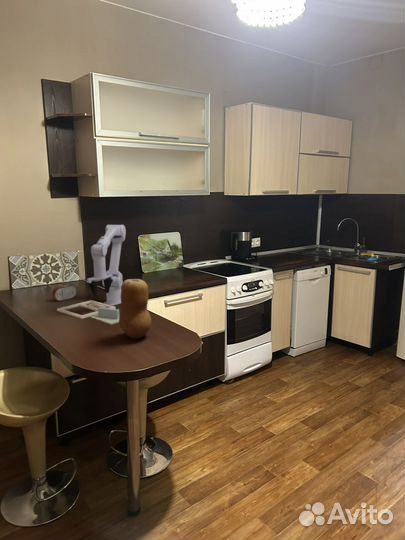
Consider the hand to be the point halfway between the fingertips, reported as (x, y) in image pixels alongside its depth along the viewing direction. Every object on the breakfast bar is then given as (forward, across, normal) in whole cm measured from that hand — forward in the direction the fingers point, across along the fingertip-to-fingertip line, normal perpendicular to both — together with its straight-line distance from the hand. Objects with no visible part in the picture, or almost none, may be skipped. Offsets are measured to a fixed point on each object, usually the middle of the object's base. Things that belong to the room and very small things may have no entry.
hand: (101, 294), depth 204 cm
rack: (+9, +4, -8) cm, 13 cm away
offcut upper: (+9, -3, -8) cm, 12 cm away
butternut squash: (+10, +14, +41) cm, 44 cm away
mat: (+9, +5, +12) cm, 16 cm away
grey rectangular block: (+9, +5, +12) cm, 16 cm away
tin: (+10, -2, -36) cm, 37 cm away
